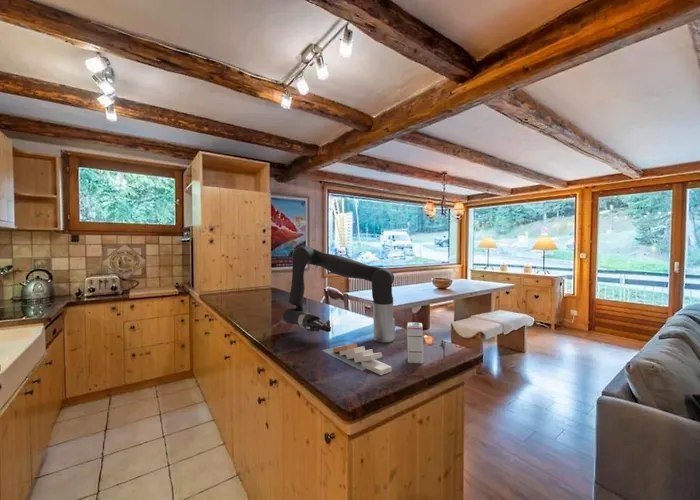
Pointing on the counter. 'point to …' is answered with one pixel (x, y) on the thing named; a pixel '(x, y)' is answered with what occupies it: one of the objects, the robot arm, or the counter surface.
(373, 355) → the domino
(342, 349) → the domino
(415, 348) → the syrup box
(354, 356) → the domino
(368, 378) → the counter surface
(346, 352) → the domino
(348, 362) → the board
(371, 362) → the domino
